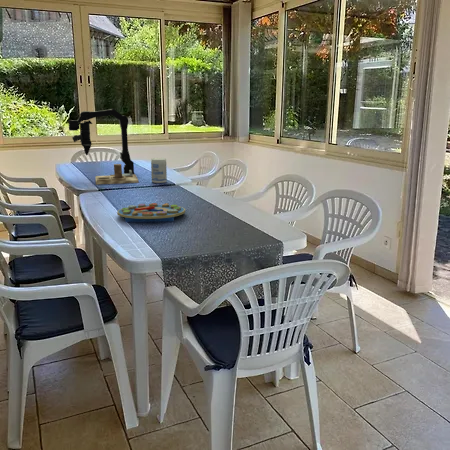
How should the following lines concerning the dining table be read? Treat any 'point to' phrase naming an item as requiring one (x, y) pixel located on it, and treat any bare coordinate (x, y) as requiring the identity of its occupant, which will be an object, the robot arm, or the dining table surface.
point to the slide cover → (128, 174)
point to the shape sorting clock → (151, 212)
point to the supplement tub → (158, 170)
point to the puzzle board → (116, 179)
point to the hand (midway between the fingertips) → (86, 154)
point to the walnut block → (118, 170)
